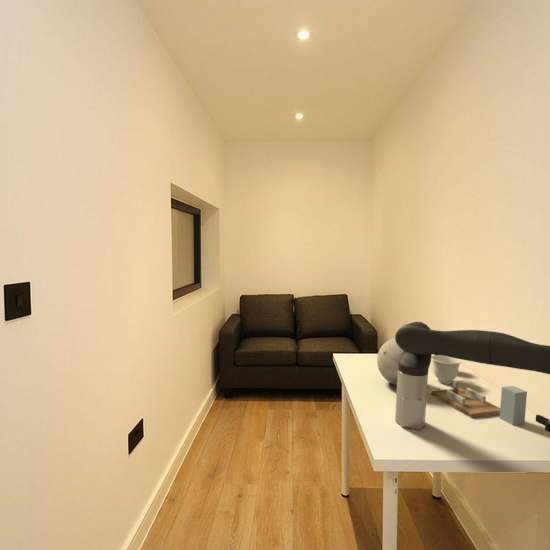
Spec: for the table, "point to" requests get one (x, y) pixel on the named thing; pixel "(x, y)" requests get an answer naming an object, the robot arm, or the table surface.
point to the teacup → (445, 368)
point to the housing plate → (467, 401)
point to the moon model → (389, 360)
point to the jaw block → (513, 405)
